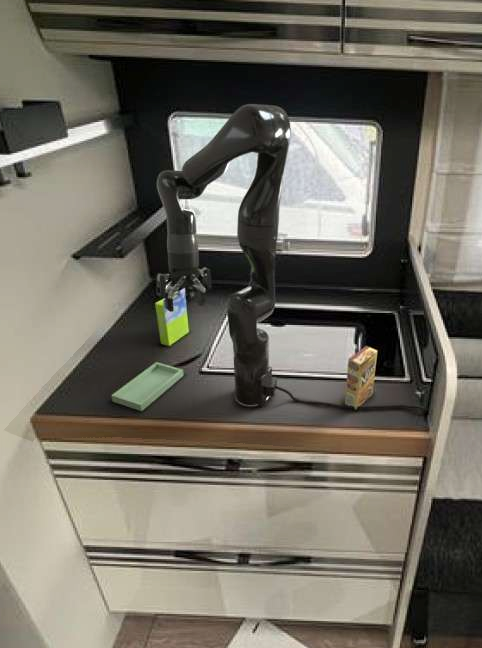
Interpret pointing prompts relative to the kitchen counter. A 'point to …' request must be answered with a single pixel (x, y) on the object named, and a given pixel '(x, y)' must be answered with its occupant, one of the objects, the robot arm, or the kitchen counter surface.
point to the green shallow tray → (147, 386)
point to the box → (172, 319)
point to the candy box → (360, 377)
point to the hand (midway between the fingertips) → (186, 307)
